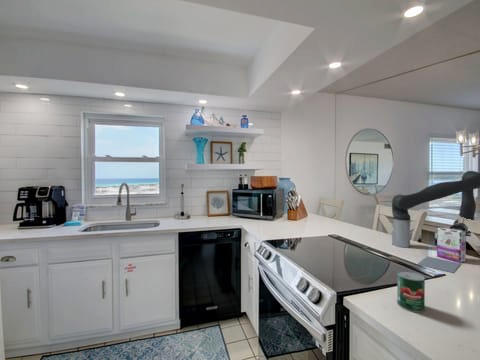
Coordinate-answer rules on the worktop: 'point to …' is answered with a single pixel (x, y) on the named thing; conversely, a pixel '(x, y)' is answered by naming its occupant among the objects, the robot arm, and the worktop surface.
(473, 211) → the robot arm
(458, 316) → the worktop surface
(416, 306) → the canned tomato
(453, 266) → the rubber mat
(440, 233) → the candy bar box
